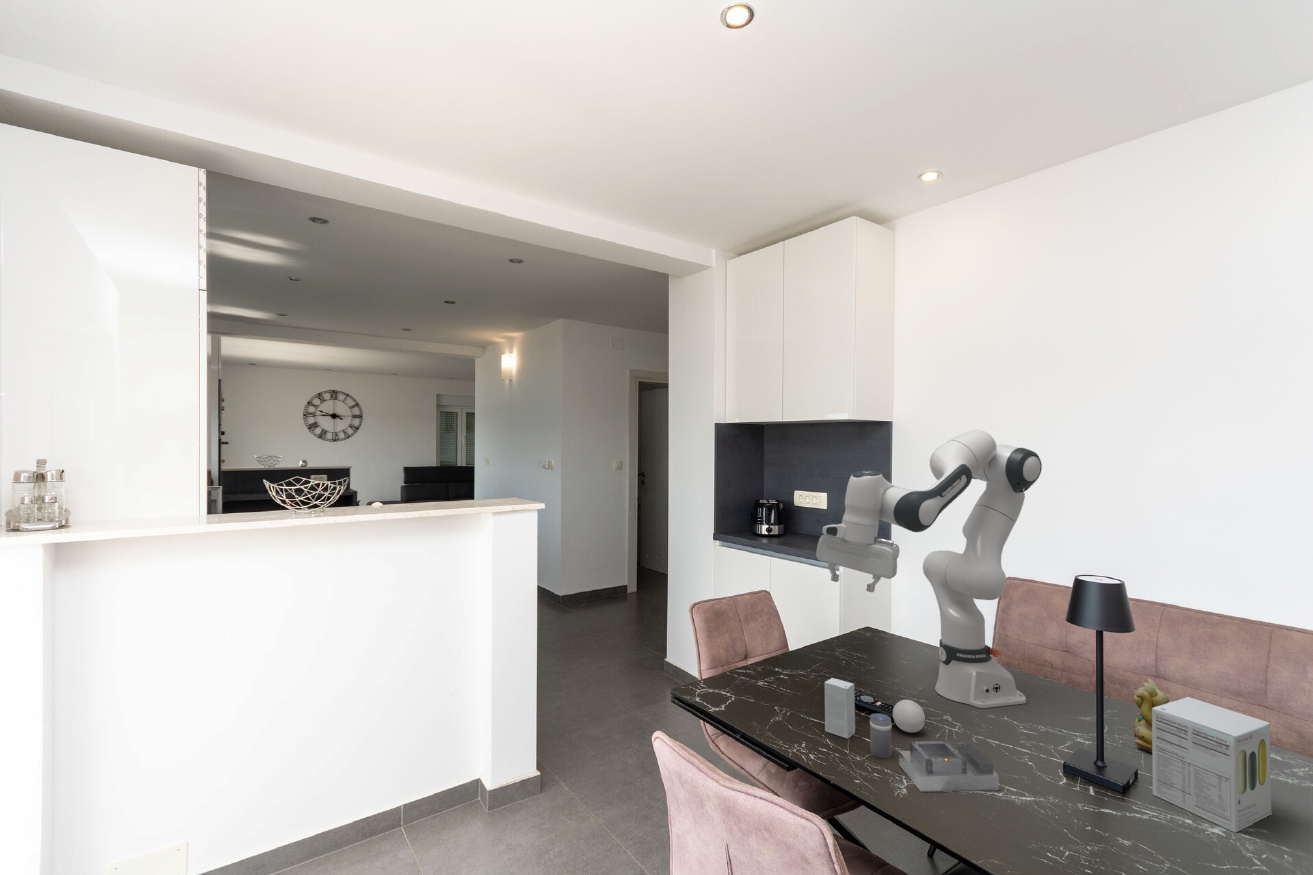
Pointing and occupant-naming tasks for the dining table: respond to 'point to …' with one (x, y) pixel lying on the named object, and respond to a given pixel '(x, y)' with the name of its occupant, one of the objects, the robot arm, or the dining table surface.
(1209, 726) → the supplement box
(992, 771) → the grey holder dock
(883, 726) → the lens
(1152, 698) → the decorative figurine
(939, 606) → the robot arm
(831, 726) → the skincare box
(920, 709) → the white egg
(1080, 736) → the dining table surface
